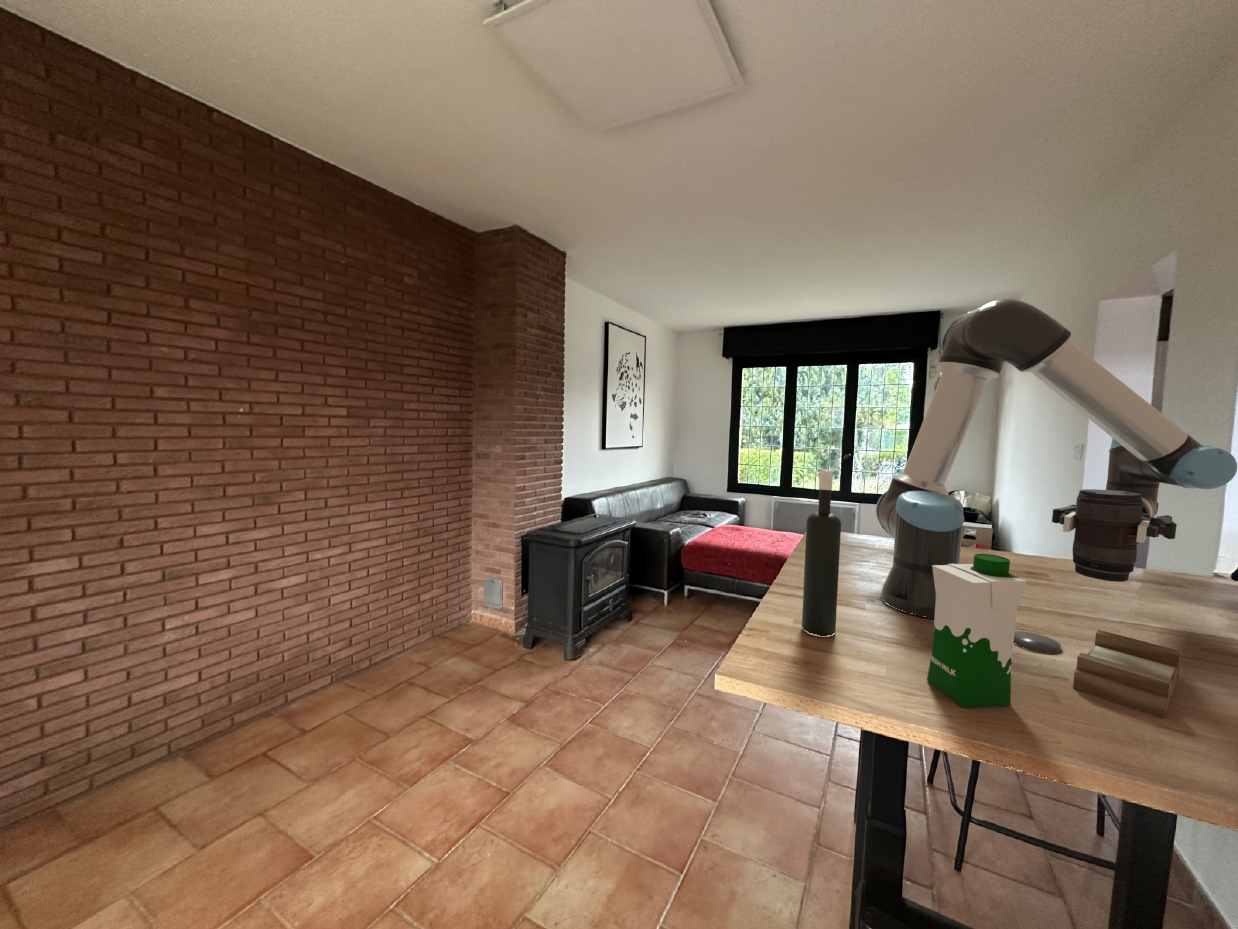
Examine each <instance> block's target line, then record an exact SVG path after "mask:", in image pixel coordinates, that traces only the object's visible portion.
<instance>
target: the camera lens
mask: <svg viewBox="0 0 1238 929" xmlns="http://www.w3.org/2000/svg"><path fill="white" fill-rule="evenodd" d="M1078 491H1079V492H1078V494H1077V497H1076V503H1075V505H1076V512H1075V518H1076V527H1075V529H1074V535H1073V536H1074V538H1073V542H1072V562H1073V563H1074V571H1075V573H1077V574H1079V575H1080V576H1081V575H1082V576H1084V577H1088V578H1091V579H1095V580H1101V581H1105V582H1106V581H1107V582H1114V583H1115V582H1116V583H1117V582H1118V583H1124V582H1127V581H1129V578H1130V574H1131V573H1132V572H1134V568H1135V564H1136V562H1137V555H1138V548H1137V547H1138V545H1139V544H1140V543H1139V542H1136V540H1137V532H1138V526H1139V524H1140V522H1141V518H1142V507H1143V502H1142V498H1141V497H1142V495H1141V494H1139V493H1133V492H1125V491H1114V490H1106V489H1089V488H1087V489H1079V490H1078Z"/></svg>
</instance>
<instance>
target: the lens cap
mask: <svg viewBox="0 0 1238 929" xmlns="http://www.w3.org/2000/svg"><path fill="white" fill-rule="evenodd" d="M1014 643H1016V644H1017V645H1016V644H1015V645H1016V646H1018V645H1019V646H1018V647H1020V648H1023V647H1024V648H1023V649H1026V650H1030V651H1032V650H1033V652H1036V653H1037V652H1038V653H1042V654H1059V653H1060V652H1061V651H1060V650H1062V645H1061V644H1060V642H1058V641H1057V640H1056V639H1053V638H1050V637H1048V636H1045V635H1042V634H1038V633H1036V632H1031V631H1030V632H1029V631H1023V630H1015V633H1014ZM1014 643H1013V644H1014Z"/></svg>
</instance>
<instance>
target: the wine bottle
mask: <svg viewBox="0 0 1238 929" xmlns="http://www.w3.org/2000/svg"><path fill="white" fill-rule="evenodd" d="M833 475H834V470H828V469H827V470H826V469H823V470H822V469H821V470H819V478H818V479H819V480H818V481H819V482H818V490H819V491H818V493H819V494H818V510H817V512H813V513H810V514H809V515H808V517H807V518H806V524H805V525H806V527H805V529H806V531H805V545H804V546H805V551H804V567H803V568H804V573H803V596H802V597H803V598H802V615H801V616H802V617H801V619H802V620H801V628H802V627H803V629H804V630H806V631H808V632H809V633H813V634H817V635H820V636H827V635H832V634H833V633H835V634H836V626H837V625H836V624H837V611H838V610H837V607H838V592H839V590H838V588H839V571H840V570H839V569H840V552H841V535H842V534H841V533H842V522H841V519H840V518H839V517H838V516H837V515H836V514H834V513H831V501H832V490H833Z"/></svg>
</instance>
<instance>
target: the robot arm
mask: <svg viewBox="0 0 1238 929" xmlns="http://www.w3.org/2000/svg"><path fill="white" fill-rule="evenodd" d="M1072 339H1073V333H1072V332H1071V331H1070V330H1068V329H1067V328H1066V327H1065V326H1064V325H1063V324H1061V323H1060V322H1059V321H1057V320H1056V319H1054V318H1053V317H1052V316H1050V315H1049V314H1047V313H1046V312H1045V311H1042V310H1041V309H1039V308H1038V307H1036V306H1034V305H1032V304H1030V303H1028V302H1025V301H1021V300H1018V299H1010V298H1005V299H998V300H994V301H990V302H988V303H986V304H984V305H981V306H980V307H978V308H976V309H974V310H972V311H968V312H966V313H964V314H962V315H960V316H959V317H958V318H956V319H955V320H954V321H953V322H952V323H951V324H949V326H948V327H947V328H946V329H945V331H944V333H943V335H942V339H941V342H940V345H941V351H942V353H941V355H940V358H939V360H938V363H937V366H938V368H939V370H940V372H941V376H940V378H939V381H938V384H937V386H936V389H935V391H934V394H933V396H932V399H931V401H930V404H929V406H928V408H927V411H926V413H925V417H924V418H923V421H922V422H921V426H920V428H919V431H918V434H917V436H916V439H915V441H914V443H913V447H912V449H911V452H910V454H909V456H908V459H907V460H906V463H905V466H904V469H903V471H902V472H901V473H899V474H897V475H894V476H893V477H892V478H891V481H890V483H889V487H888V489H887V491H885V492H884V493H882V495H881V496H880V497H879V498H878V500H877V502H876V507H875V514H876V519H877V521H878V523H879V525H880V526H881V528H882V529H883V531H885V533H887V534H889V535H890V536H891V537H893V538H894V542H893V543H894V544H893V545H894V546H893V558H892V559H893V561H892V567H890V571H889V573H888V575H887V577H886V579H885V581H884V583H883V585H882V589H881V600H882V599H883V600H884V602H886V603H888V604H889V605H890V606H893V607H895V608H897V609H900V610H903V611H905V612H907V613H906V614H908V613H913V614H916V615H919V616H918V617H920V616H926V617H929V618H928V619H933V618H935V604H936V591H935V583H934V576H933V568H932V565H948V564H961V563H960V562H961V550H962V539H963V538H962V537H963V527H964V522H965V516H964V515H965V514H964V505H963V503H962V502H961V501H960V500H959V499H957V498H956V497H954V496H952V495H949V492H948V490H947V488H946V486H945V484H946V482H947V480H948V476H949V475H950V472H951V469H952V467H953V465H954V462H955V460H956V457H957V454H958V452H959V450H960V448H961V446H962V444H963V441H964V439H965V436H966V433H967V431H968V429H969V426H970V424H971V422H972V419H973V417H974V415H975V412H976V410H977V408H978V405H979V402H980V399H981V397H982V395H983V393H984V390H985V388H986V386H987V384H988V383H989V382H990V381H993V380H994V379H996V378H999V376H1000V374H1001V371H1002V369H1003V367H1004V364H1005V363H1008V364H1010V365H1012V366H1013V367H1015V369H1016V370H1018V371H1019V372H1020V373H1026V372H1030V373H1031V374H1033V375H1034V376H1035V377H1036V378H1038V380H1040V381H1042V382H1043V384H1045V385H1046V386H1048V387H1049V388H1050V389H1051V390H1053V392H1055V393H1056V394H1057V395H1058V396H1060V397H1061V398H1062V399H1064V400H1065V401H1066V402H1068V403H1069V404H1070V405H1071V406H1073V408H1075V409H1076V410H1077V411H1078V412H1079V413H1081V414H1082V415H1083V416H1085V417H1086V418H1087V419H1088V420H1090V421H1091V422H1092V423H1094V424H1095V425H1096V426H1097V427H1098V428H1100V429H1101V430H1102V431H1103V432H1105V433H1106V434H1107V435H1108V436H1110V437H1111V442H1110V443H1111V444H1110V448H1109V450H1108V453H1109V455H1108V465H1107V466H1108V468H1107V478H1106V484H1105V490H1114V491H1125V492H1133V493H1139V494H1141V495H1142V497H1141V498H1142V502H1143V507H1142V518H1141V522H1140V524H1139V526H1138V532H1137V540H1136V542H1139V543H1138V544H1144V543H1145V542H1146V540H1147V539H1148V538H1150V537H1151V538H1159V536H1163V538H1165V539H1167V540H1174V539H1176V535H1177V534H1176V533H1177V525H1178V524H1177V523H1176V522H1174V520H1173V516H1171V515H1168V514H1167V515H1166V514H1165V515H1157V514H1158V511H1159V502H1158V496H1159V488H1160V484H1165V485H1171V486H1177V487H1182V488H1184V489H1198V490H1214V489H1217V488H1220V487H1224V486H1225V485H1226V484H1228V483H1229V482H1231V481H1232V480H1233V479H1234V477H1235V476H1236V474H1237V472H1238V463H1237V460H1236V458H1235V456H1233V454H1232V453H1230V452H1229V451H1227V450H1225V449H1222V448H1219V447H1215V446H1211V445H1202V444H1201V443H1200V442H1199V441H1197V440H1196V439H1195V438H1193V437H1192V436H1190V435H1189V434H1188V433H1187V432H1185V431H1184V430H1183V429H1182V428H1181V427H1180V426H1178V425H1177V424H1175V423H1174V422H1173V421H1172V420H1170V419H1169V418H1168V417H1167V416H1166V415H1164V414H1163V413H1162V412H1160V411H1159V410H1158V409H1157V408H1156V407H1154V406H1153V405H1151V403H1150V402H1148V401H1146V400H1145V399H1144V398H1143V397H1142V396H1140V395H1139V394H1138V393H1137V392H1136V391H1134V390H1133V389H1132V388H1130V387H1129V386H1128V385H1127V384H1125V383H1124V382H1123V381H1121V379H1119V378H1118V377H1117V376H1115V375H1114V374H1113V373H1112V372H1110V371H1109V370H1108V369H1106V368H1105V367H1104V366H1103V365H1101V364H1100V363H1099V362H1098V361H1097V360H1095V359H1094V358H1093V357H1092V356H1090V355H1089V354H1087V353H1086V351H1084V350H1082V349H1081V348H1080V347H1079V346H1078V345H1077V344H1075V343H1074V342H1072ZM1075 512H1076V504H1069V505H1068V506H1065V507H1064V506H1063V507H1059V508H1058V507H1057V508H1053V509H1052V517H1051V523H1054V524H1059V525H1063V527H1062V528H1063V530H1062V532H1063V533H1064V532H1065V533H1070V532H1072V531H1074V530H1075V527H1076V518H1075ZM883 600H882V601H883ZM884 602H883V603H884ZM886 603H885V604H886ZM889 605H888V606H889ZM890 606H889V607H890ZM897 609H896V610H897ZM905 612H904V613H905ZM916 615H915V616H916ZM926 617H925V618H926Z"/></svg>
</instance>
